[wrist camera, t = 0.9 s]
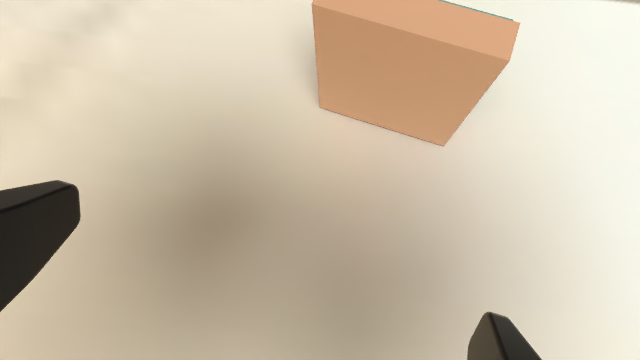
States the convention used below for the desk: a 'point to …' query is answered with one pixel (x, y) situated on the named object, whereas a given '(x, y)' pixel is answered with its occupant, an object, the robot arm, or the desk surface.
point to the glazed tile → (408, 61)
